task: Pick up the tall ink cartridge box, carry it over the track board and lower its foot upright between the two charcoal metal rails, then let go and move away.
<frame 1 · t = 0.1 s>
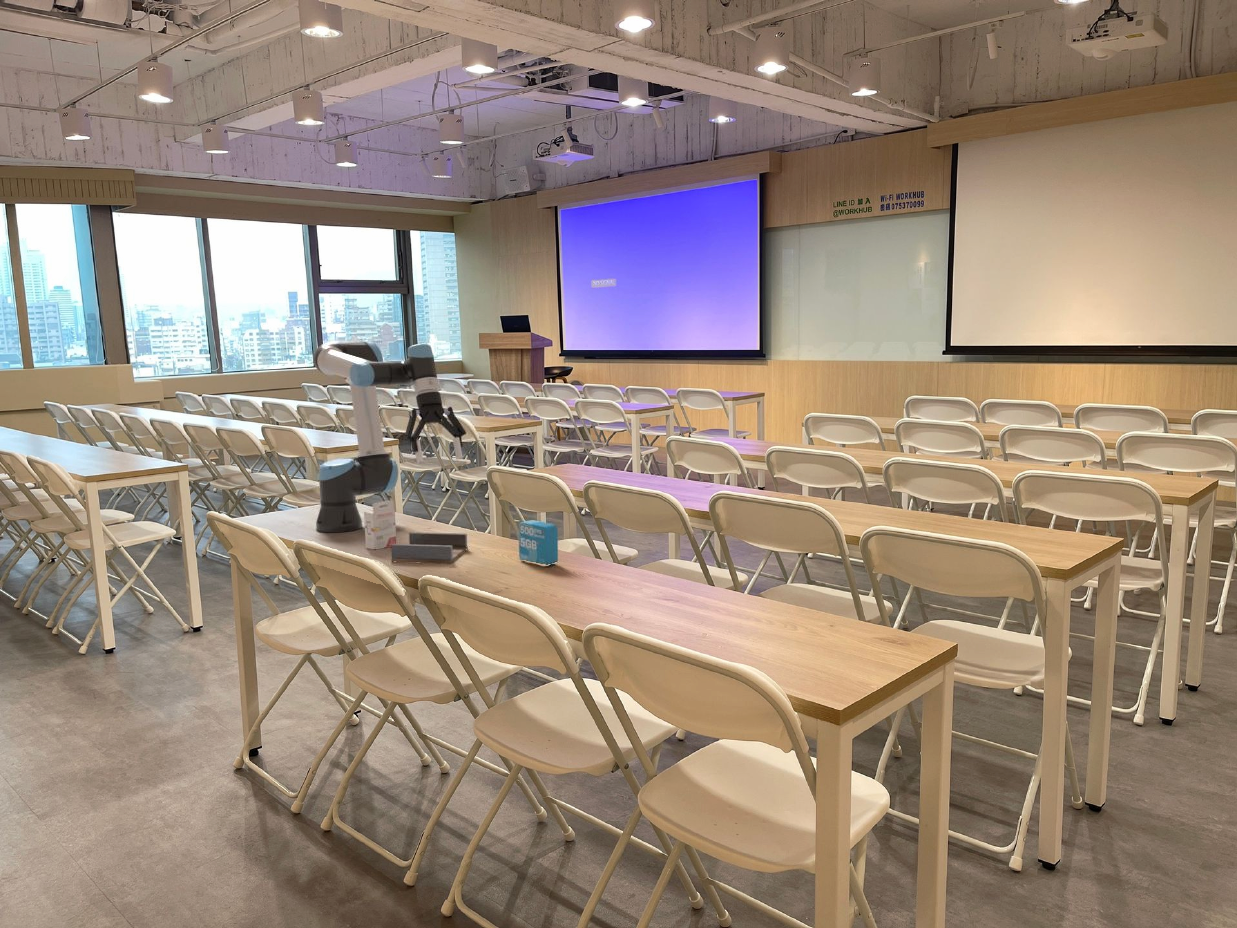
hand: (440, 460, 274), 28 cm above the table, tool tilted 20°, fingers open, 13 cm apart
track board: (430, 555, 270), on the table
data package: (538, 563, 262), on the table
ink cartridge box: (381, 547, 281), on the table
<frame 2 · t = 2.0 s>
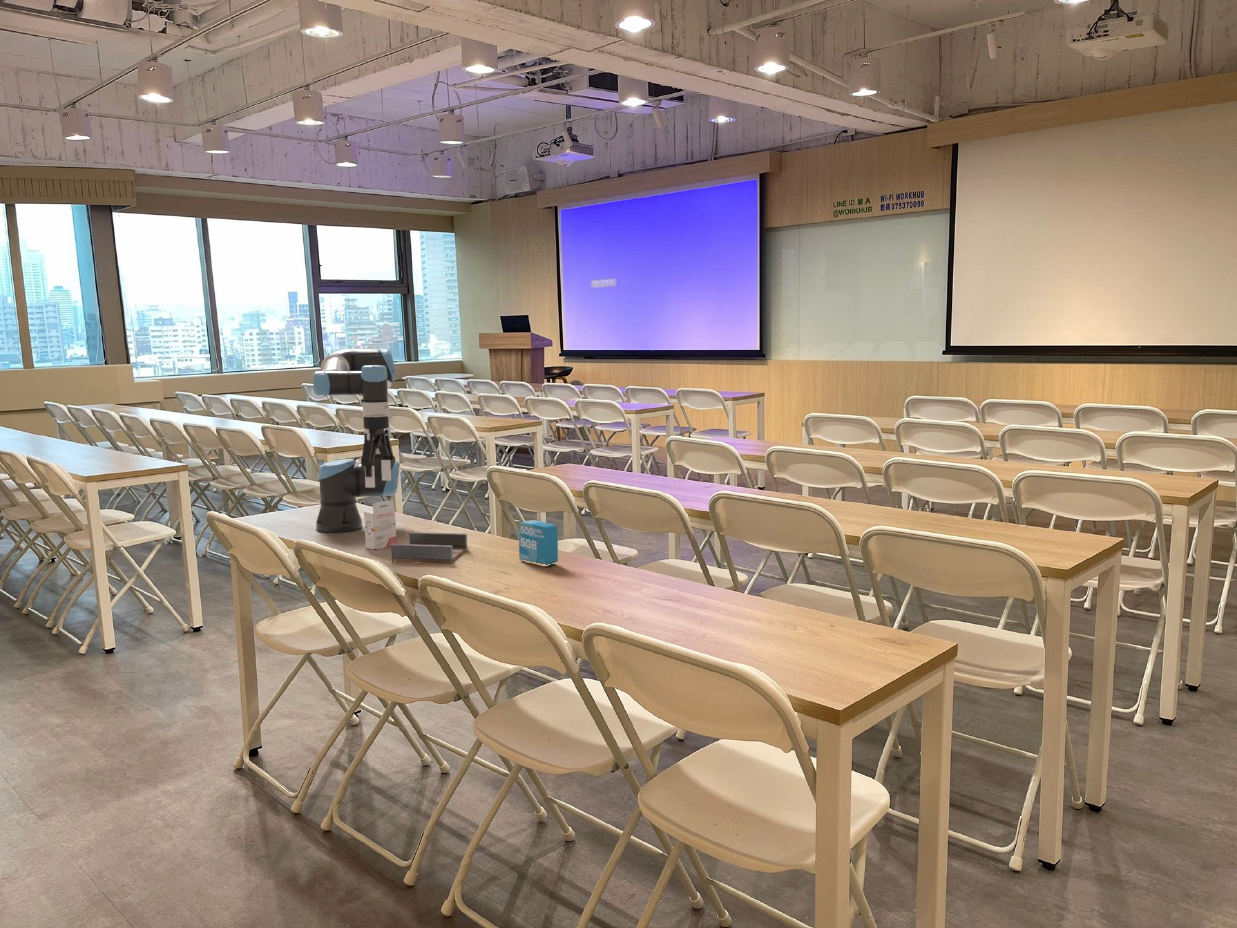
hand: (378, 483, 278), 20 cm above the table, tool pointing down, fingers open, 13 cm apart
nothing on the table moved.
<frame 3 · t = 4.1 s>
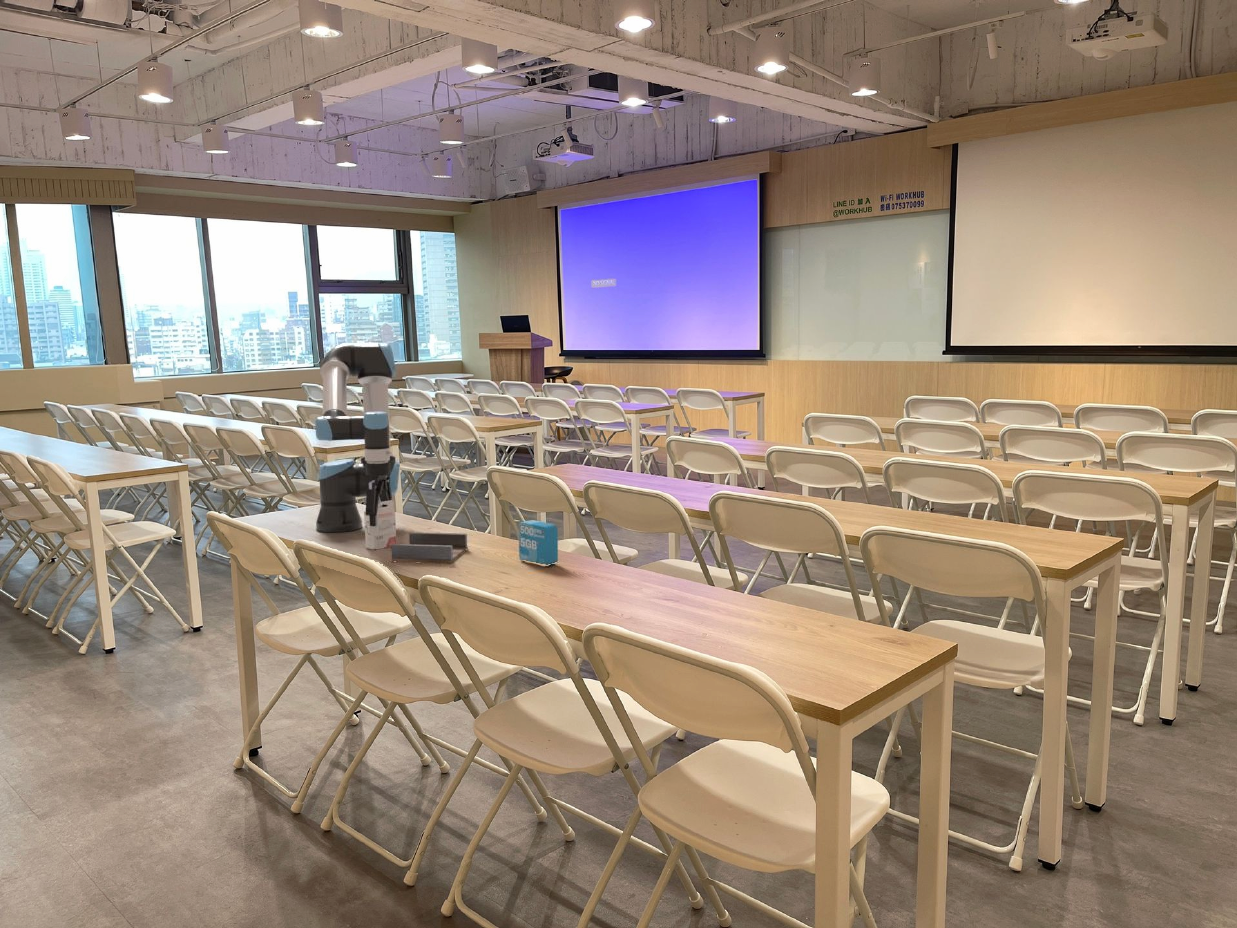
hand: (380, 532, 280), 5 cm above the table, tool pointing down, fingers closed on ink cartridge box, 9 cm apart
ink cartridge box: (381, 547, 281), on the table, touching gripper
everything else where it was.
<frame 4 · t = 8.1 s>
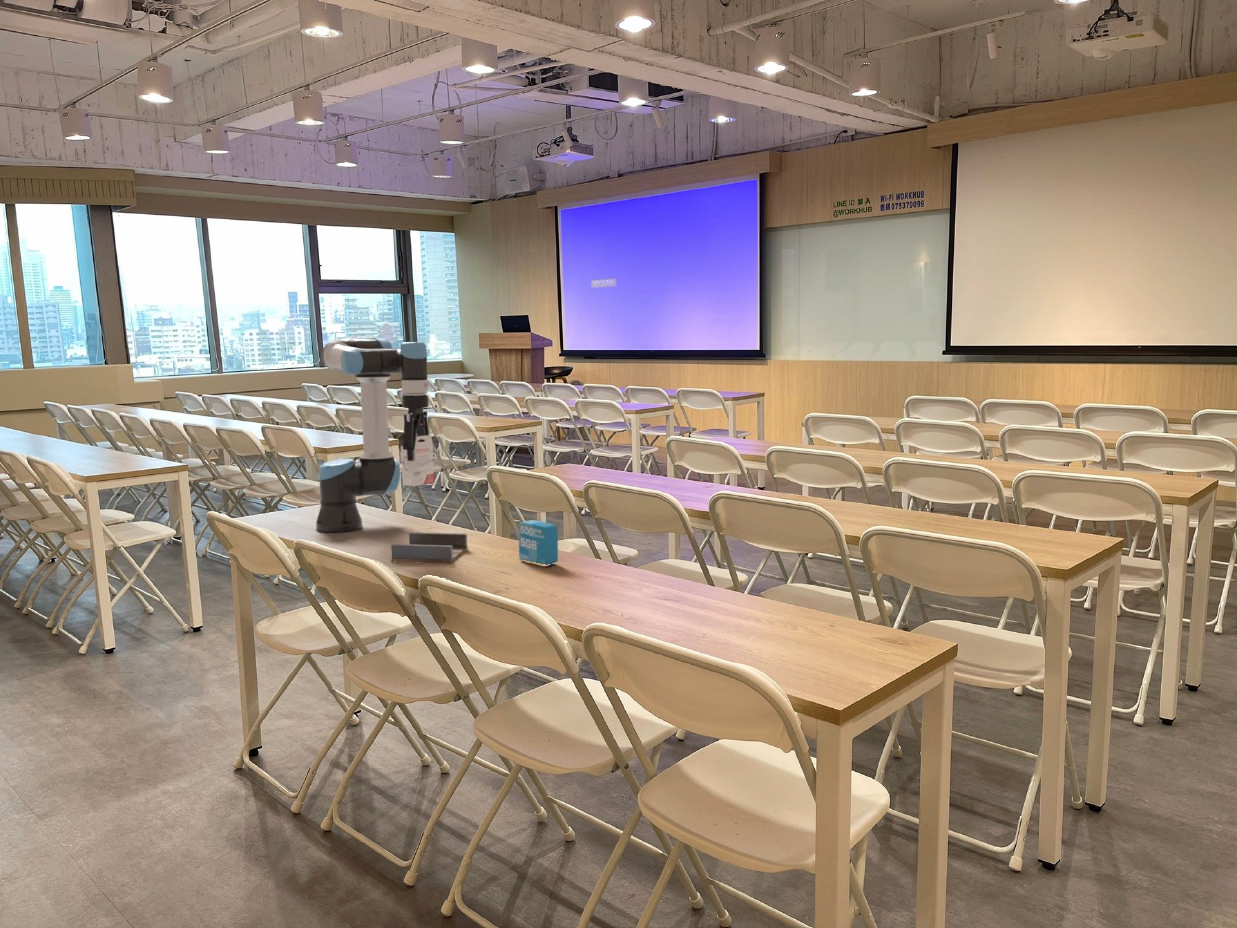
hand: (417, 468, 268), 26 cm above the table, tool pointing down, fingers closed on ink cartridge box, 9 cm apart
ink cartridge box: (418, 484, 269), point 21 cm above the table, touching gripper
everything else where it was.
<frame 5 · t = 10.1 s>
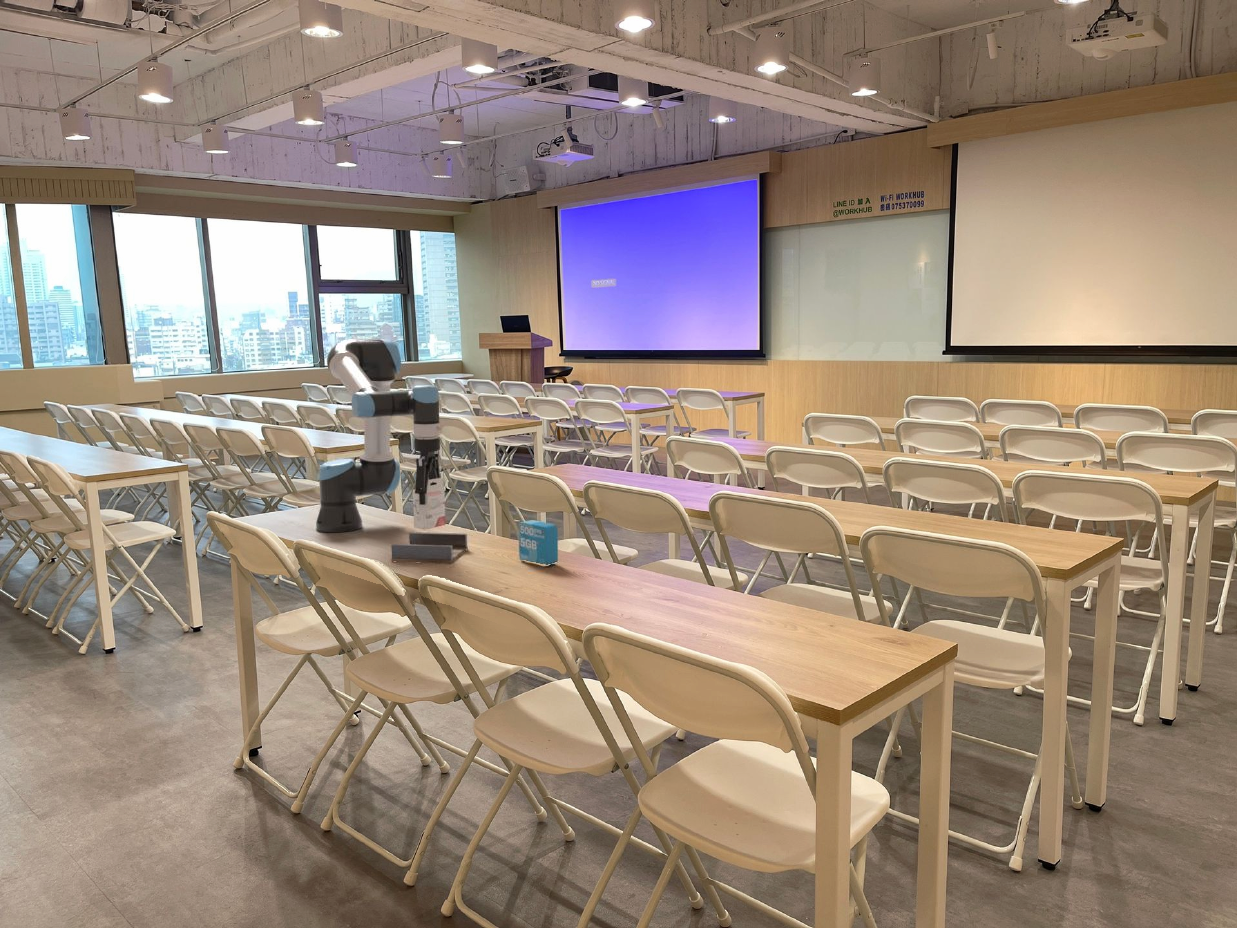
hand: (429, 511, 268), 14 cm above the table, tool pointing down, fingers closed on ink cartridge box, 9 cm apart
ink cartridge box: (429, 527, 269), point 9 cm above the table, touching gripper
everything else where it was.
when the fingers open (7 cm above the table, at t = 11.9 s): ink cartridge box drops 2 cm, resting on track board.
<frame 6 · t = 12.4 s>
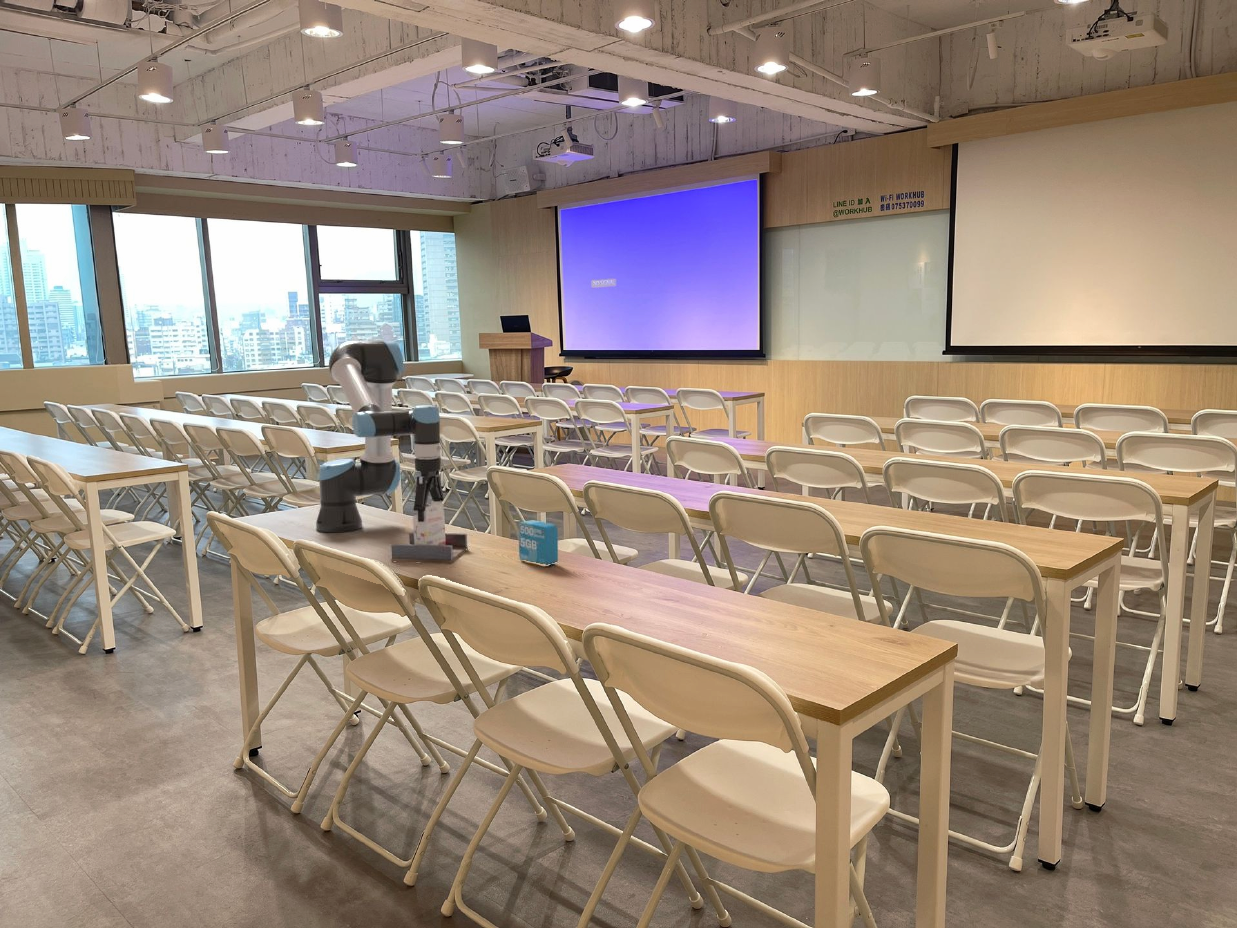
hand: (429, 527, 269), 9 cm above the table, tool pointing down, fingers open, 13 cm apart
ink cartridge box: (430, 552, 270), point 1 cm above the table, touching track board
everything else where it was.
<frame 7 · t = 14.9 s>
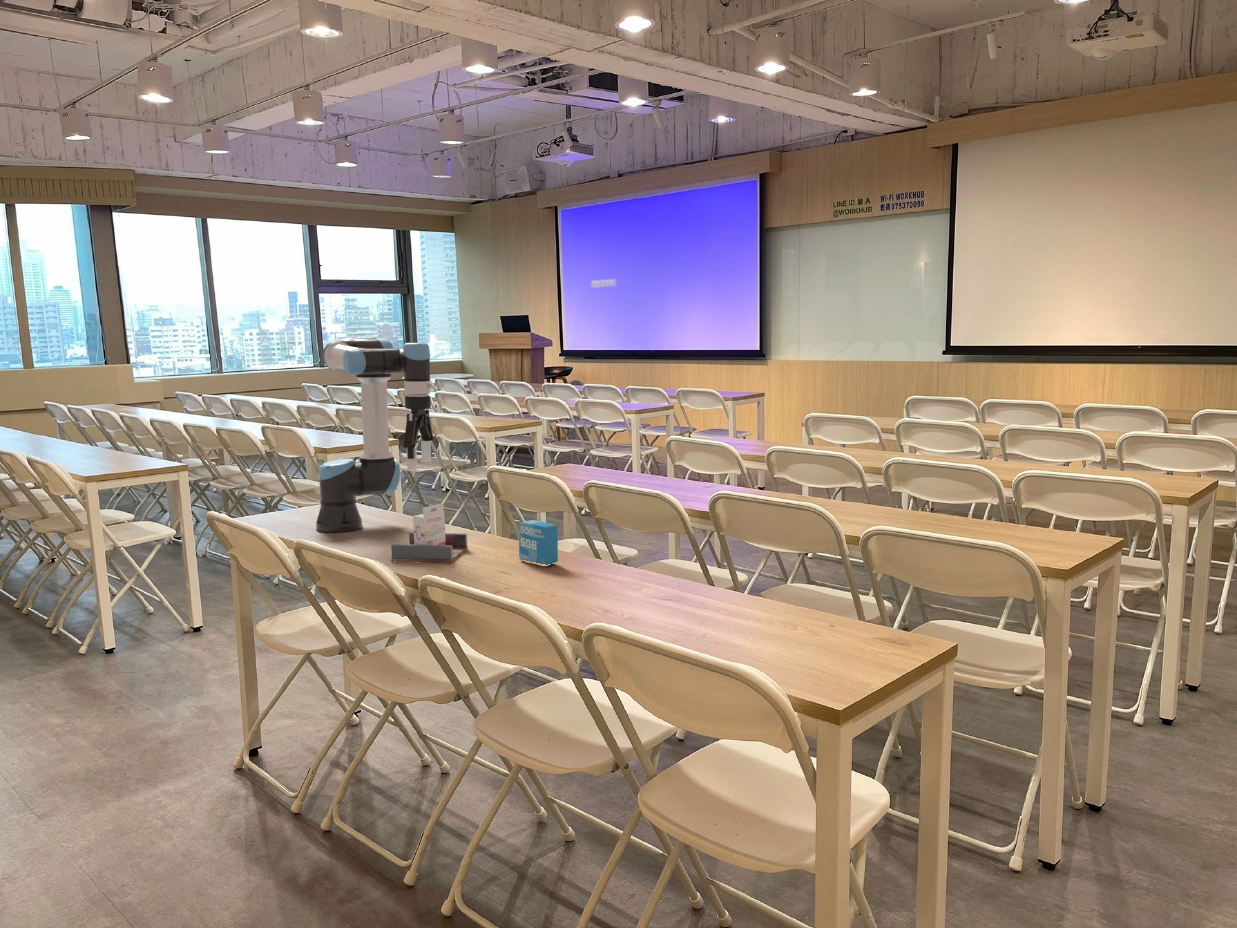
hand: (419, 465, 268), 27 cm above the table, tool pointing down, fingers open, 13 cm apart
nothing on the table moved.
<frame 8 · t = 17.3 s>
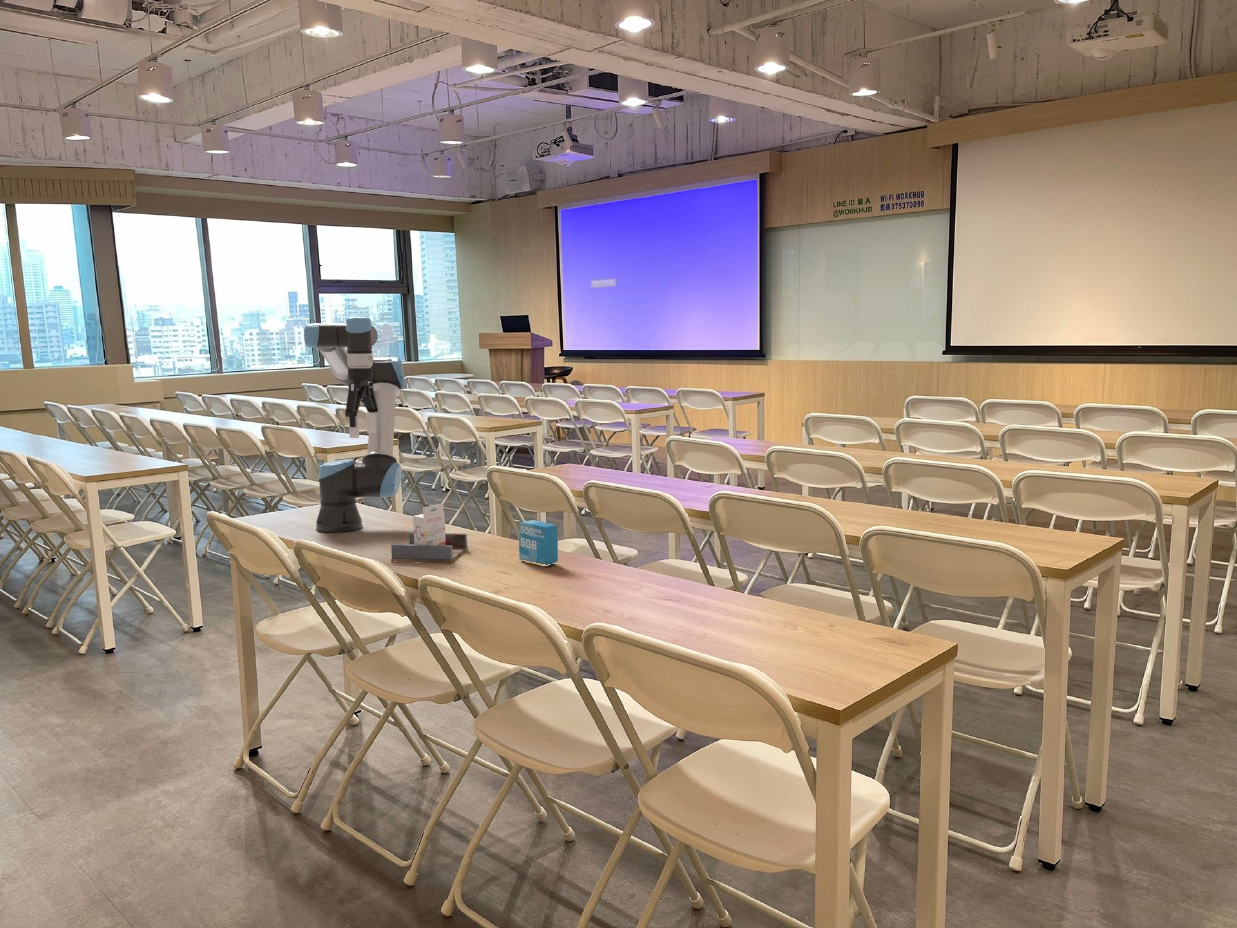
hand: (363, 435, 281), 35 cm above the table, tool pointing down, fingers open, 13 cm apart
nothing on the table moved.
at the end: ink cartridge box inside the target area on the track board (0.1 cm from its centre), point 0.8 cm above the track board's base; ink cartridge box tilted 0°; the gripper is holding nothing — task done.
